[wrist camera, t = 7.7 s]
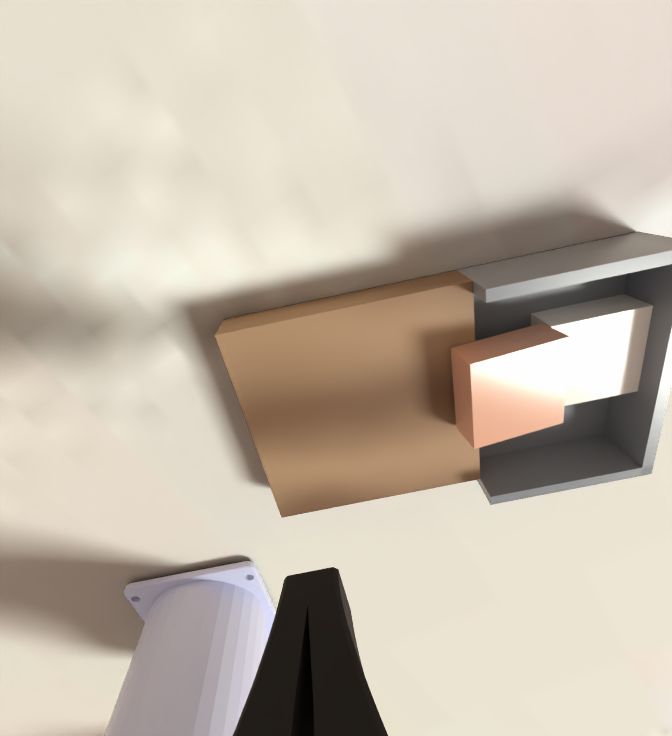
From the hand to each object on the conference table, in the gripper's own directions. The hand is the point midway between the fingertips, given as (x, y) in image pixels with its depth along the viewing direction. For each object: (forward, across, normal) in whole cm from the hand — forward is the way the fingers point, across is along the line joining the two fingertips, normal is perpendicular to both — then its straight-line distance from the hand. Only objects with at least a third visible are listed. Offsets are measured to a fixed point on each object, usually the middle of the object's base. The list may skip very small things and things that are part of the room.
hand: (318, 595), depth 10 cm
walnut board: (+9, -2, 0) cm, 10 cm away
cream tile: (+9, -12, -1) cm, 15 cm away
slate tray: (+9, -11, 0) cm, 14 cm away
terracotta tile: (+8, -8, -1) cm, 11 cm away
